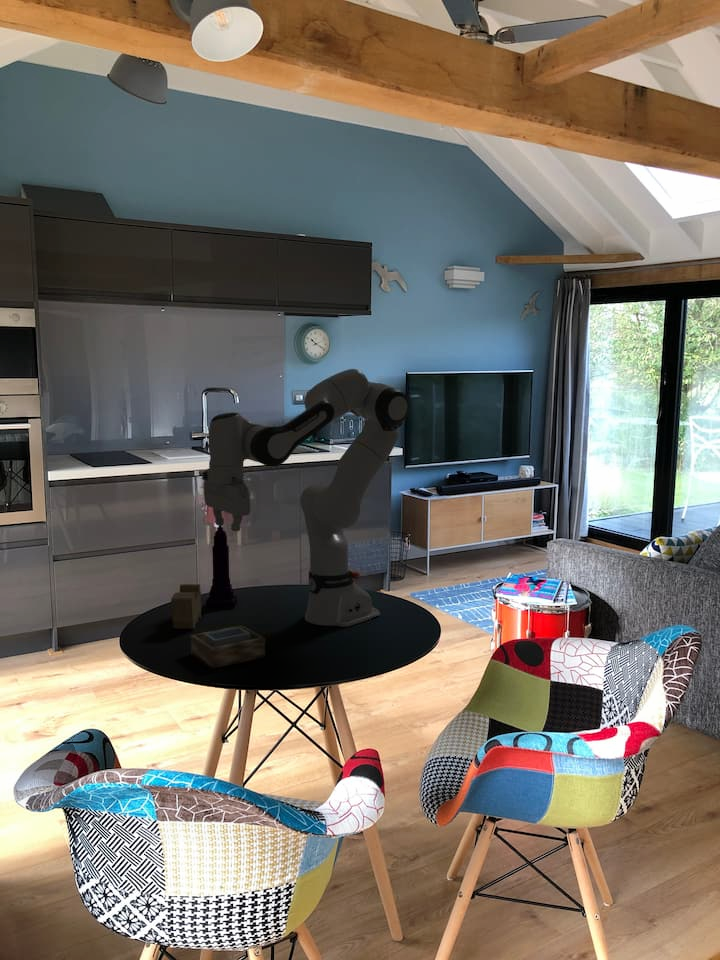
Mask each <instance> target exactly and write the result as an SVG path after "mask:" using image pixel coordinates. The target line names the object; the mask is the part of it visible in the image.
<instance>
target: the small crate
mask: <svg viewBox="0 0 720 960" xmlns="http://www.w3.org/2000/svg"><path fill="white" fill-rule="evenodd" d="M247 640H251V633H249V632H248V631H246V630H244V629H242V628H241V627H237V628H232V629H227V630H222V631H217V632H212V633H207V634H204V642H205V643H207V644H208V645H210V646H212V647H213V648H214V647H219V646H223V645H228V644H233V643H238V642H242V641H247Z"/></svg>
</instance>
